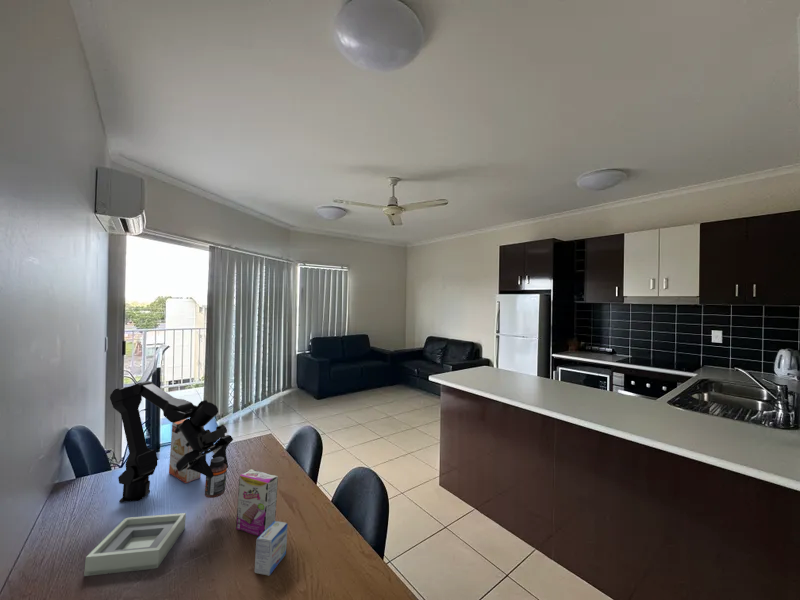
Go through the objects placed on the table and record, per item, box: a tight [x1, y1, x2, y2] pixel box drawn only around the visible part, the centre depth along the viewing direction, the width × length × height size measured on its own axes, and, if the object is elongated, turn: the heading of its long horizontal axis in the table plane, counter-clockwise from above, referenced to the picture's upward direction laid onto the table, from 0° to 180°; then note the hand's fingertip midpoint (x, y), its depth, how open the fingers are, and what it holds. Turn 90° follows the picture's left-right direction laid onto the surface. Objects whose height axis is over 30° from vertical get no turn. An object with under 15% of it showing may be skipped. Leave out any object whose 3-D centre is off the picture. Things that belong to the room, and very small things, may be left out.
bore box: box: [83, 512, 187, 577], centre depth 89 cm, size 16×16×4 cm
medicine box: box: [254, 520, 288, 577], centre depth 86 cm, size 8×4×9 cm, turn 168°
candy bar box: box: [235, 468, 279, 537], centre depth 99 cm, size 11×5×16 cm, turn 71°
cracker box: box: [168, 419, 205, 484], centre depth 130 cm, size 14×6×21 cm, turn 58°
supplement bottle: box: [204, 457, 228, 499], centre depth 107 cm, size 6×6×11 cm
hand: (219, 472), depth 107 cm, fingers closed on supplement bottle, 6 cm apart
